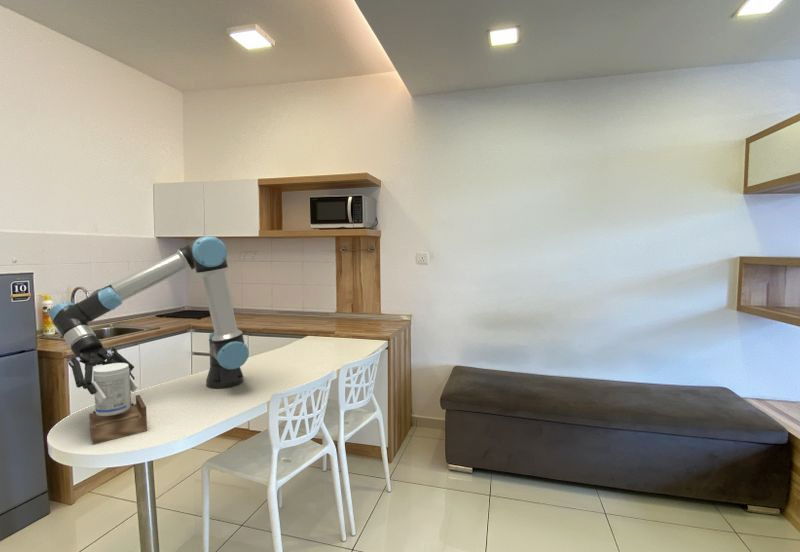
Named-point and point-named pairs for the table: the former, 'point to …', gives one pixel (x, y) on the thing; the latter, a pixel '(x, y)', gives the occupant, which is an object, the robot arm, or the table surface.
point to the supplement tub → (113, 388)
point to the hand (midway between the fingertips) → (119, 394)
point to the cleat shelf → (119, 423)
